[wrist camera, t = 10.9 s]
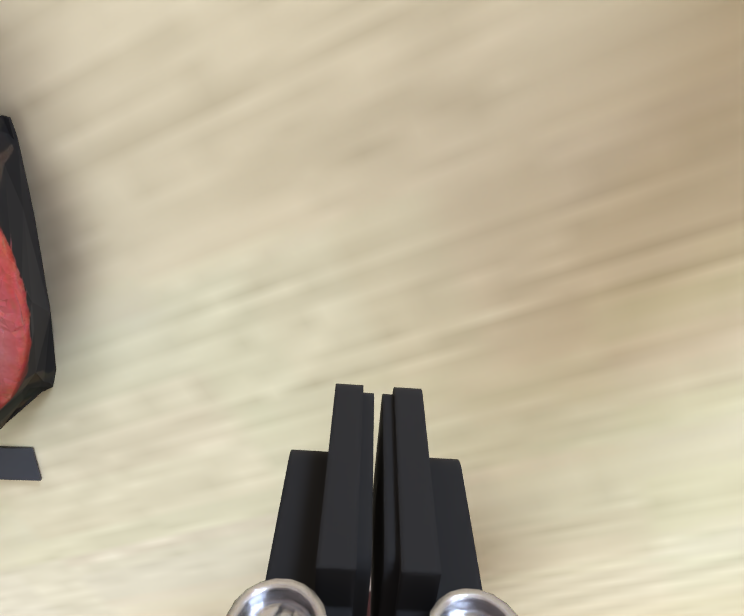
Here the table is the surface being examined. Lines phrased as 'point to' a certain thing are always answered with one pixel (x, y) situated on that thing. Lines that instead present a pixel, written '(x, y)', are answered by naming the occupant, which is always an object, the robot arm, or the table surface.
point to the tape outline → (18, 464)
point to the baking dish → (21, 289)
